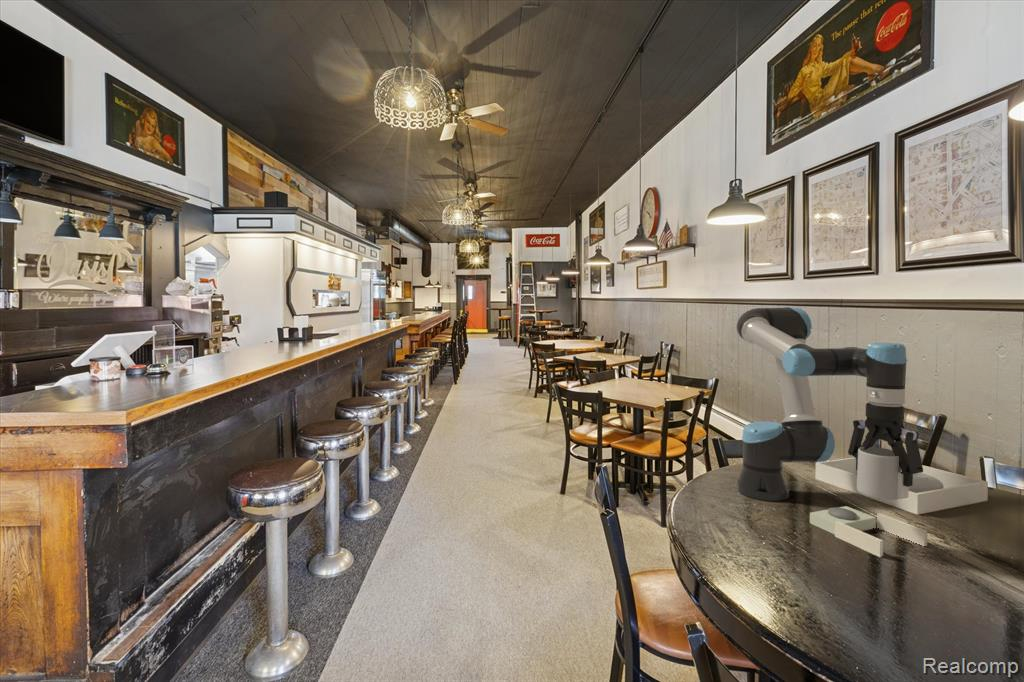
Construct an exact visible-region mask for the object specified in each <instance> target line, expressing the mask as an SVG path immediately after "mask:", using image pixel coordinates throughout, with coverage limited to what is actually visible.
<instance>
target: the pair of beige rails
mask: <svg viewBox="0 0 1024 682" xmlns="http://www.w3.org/2000/svg"><path fill="white" fill-rule="evenodd" d="M809 524H811V525H813V526H815V527H818V528H820V529H822V530H824V531H826V532H829V533H830V534H832V535H834V538H837V539H839V540H842V541H844V542H846V543H848V544H850V545H852V546H855V547H857V548H858V549H861V550H863V551H865V552H867V553H869V554H871V555H874V556H877V557H878V558H883V557H884V540H883V539H881V538H878V537H875V536H874V535H871V534H869V533H866V532H864V531H868V530H873V528H874V529H876V528H877V529H878V528H879V530H881V531H883V530H884V532H886V531H887V532H886V533H888V532H889V534H891V533H892V534H891V535H893V534H894V535H893V536H896V535H897V536H896V537H898V536H899V537H898V538H900V539H903V538H904V539H903V540H906V539H907V540H906V541H908V540H910V541H909V542H911V541H912V542H911V543H913V542H914V543H913V544H915V543H917V544H916V545H918V544H920V545H922V546H921V547H923V546H927V547H928V530H926V529H923V528H920V527H918V526H916V525H912V524H909V523H907V522H905V521H901V520H899V519H896V518H895V517H891V516H889V515H886V514H883V513H880V512H879V513H878V512H877V514H876V517H875V516H873V515H870V514H868V513H864V512H862V511H860V510H857V509H854V508H852V507H850V506H847V505H845V506H840V507H830V508H827V509H824V510H823V509H821V510H817V511H812V512H809ZM920 545H919V546H920ZM882 556H883V557H882Z"/></svg>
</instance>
